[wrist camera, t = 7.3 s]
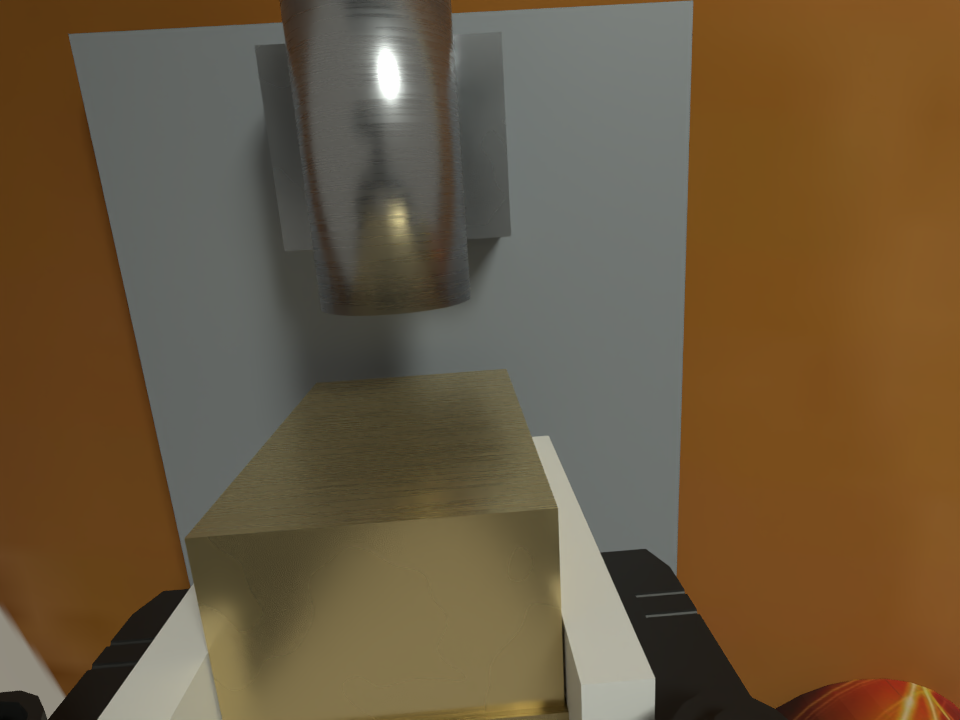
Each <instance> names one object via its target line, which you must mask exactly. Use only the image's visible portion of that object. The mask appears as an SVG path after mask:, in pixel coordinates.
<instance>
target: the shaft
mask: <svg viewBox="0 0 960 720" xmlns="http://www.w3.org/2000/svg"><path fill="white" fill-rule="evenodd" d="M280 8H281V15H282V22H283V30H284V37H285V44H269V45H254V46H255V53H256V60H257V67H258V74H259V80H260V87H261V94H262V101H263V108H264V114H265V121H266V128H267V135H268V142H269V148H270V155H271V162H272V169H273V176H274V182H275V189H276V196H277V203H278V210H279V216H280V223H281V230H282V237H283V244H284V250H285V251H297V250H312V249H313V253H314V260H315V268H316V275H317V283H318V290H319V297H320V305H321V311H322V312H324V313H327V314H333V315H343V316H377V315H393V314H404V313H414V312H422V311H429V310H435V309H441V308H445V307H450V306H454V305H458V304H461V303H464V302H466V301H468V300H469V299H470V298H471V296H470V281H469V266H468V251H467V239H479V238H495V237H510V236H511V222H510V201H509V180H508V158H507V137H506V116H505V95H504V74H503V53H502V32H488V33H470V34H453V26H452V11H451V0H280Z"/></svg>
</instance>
